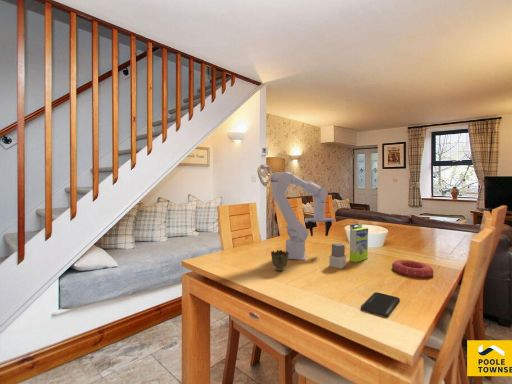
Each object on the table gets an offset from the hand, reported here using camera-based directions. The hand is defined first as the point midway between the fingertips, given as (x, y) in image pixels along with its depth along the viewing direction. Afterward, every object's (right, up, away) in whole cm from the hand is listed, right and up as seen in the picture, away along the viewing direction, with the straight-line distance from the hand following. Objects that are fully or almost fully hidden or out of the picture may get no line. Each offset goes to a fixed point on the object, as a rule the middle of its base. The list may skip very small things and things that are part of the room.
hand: (319, 235), depth 145 cm
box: (+17, -10, -10) cm, 22 cm away
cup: (-23, -11, -27) cm, 37 cm away
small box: (+4, -11, -20) cm, 23 cm away
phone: (+6, -13, -59) cm, 61 cm away
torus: (+33, -11, -28) cm, 44 cm away
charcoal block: (+4, -6, -21) cm, 22 cm away
